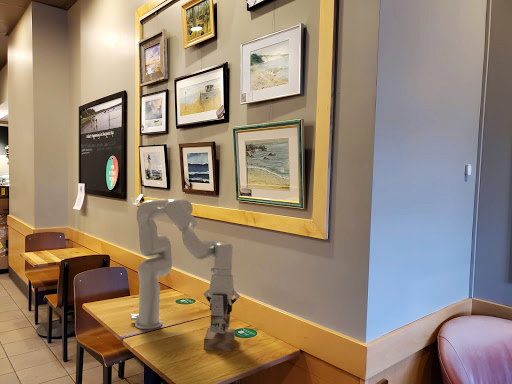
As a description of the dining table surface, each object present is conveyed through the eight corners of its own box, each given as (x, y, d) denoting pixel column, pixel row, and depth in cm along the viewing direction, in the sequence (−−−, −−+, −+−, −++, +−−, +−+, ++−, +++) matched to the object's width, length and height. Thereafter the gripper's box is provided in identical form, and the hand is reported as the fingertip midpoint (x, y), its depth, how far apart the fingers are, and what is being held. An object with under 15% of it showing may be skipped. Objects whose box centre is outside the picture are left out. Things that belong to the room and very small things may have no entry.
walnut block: (203, 350, 161) (204, 338, 161) (207, 338, 173) (208, 327, 173) (232, 352, 161) (232, 340, 161) (234, 340, 173) (234, 329, 173)
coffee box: (224, 334, 162) (226, 295, 162) (209, 332, 163) (211, 294, 163) (230, 326, 171) (231, 290, 171) (216, 324, 172) (217, 288, 172)
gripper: (200, 272, 164) (198, 313, 164) (241, 275, 162) (239, 317, 162) (205, 268, 171) (203, 308, 172) (243, 271, 169) (242, 311, 170)
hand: (220, 312), depth 167 cm, fingers closed on coffee box, 6 cm apart
